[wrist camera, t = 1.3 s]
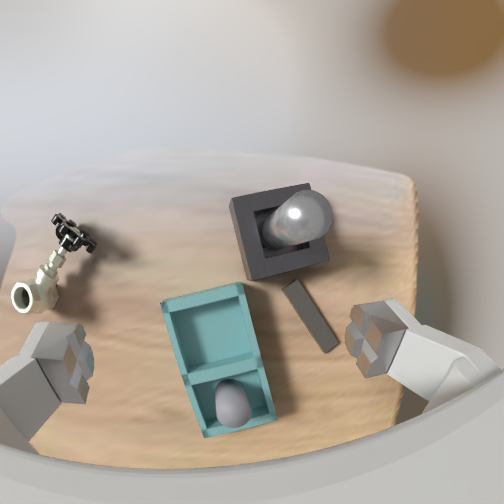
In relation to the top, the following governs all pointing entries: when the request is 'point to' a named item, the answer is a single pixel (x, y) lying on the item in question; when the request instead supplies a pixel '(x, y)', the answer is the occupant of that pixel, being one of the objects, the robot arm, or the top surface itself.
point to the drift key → (310, 315)
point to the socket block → (251, 247)
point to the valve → (50, 270)
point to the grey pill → (297, 221)
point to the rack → (219, 359)
